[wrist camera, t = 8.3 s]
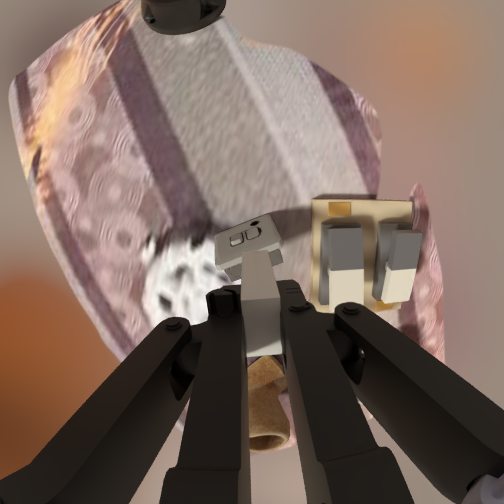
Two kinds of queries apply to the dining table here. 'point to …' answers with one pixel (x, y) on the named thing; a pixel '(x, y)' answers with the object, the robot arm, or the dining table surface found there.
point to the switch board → (374, 243)
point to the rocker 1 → (345, 266)
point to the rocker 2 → (401, 265)
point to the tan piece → (266, 405)
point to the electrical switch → (247, 244)
